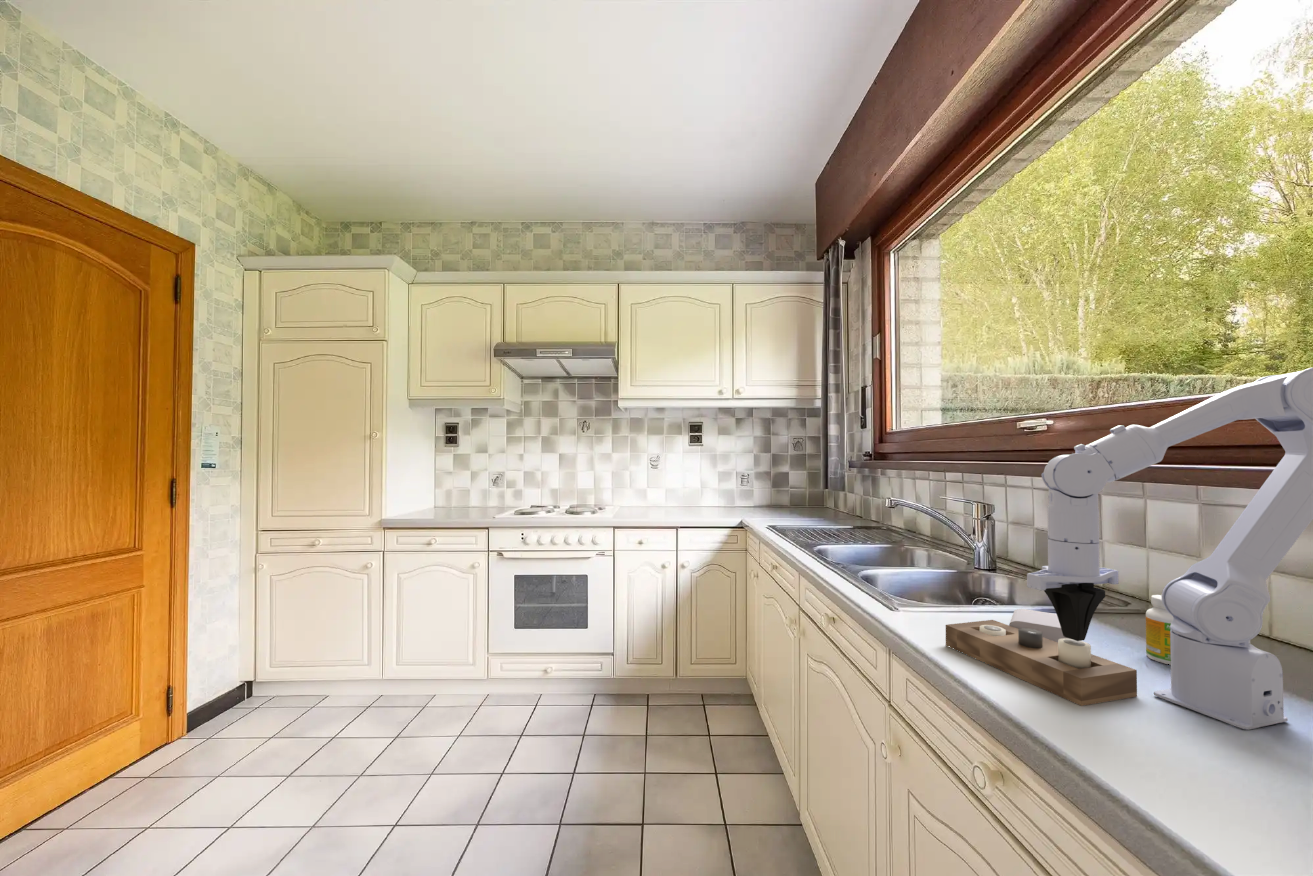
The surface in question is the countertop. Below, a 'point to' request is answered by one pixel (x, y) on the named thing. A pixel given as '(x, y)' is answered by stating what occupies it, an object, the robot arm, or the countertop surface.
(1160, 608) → the supplement bottle
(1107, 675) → the knob mount
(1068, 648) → the near knob
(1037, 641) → the pot knob
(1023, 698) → the countertop surface
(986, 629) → the far knob
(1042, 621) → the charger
